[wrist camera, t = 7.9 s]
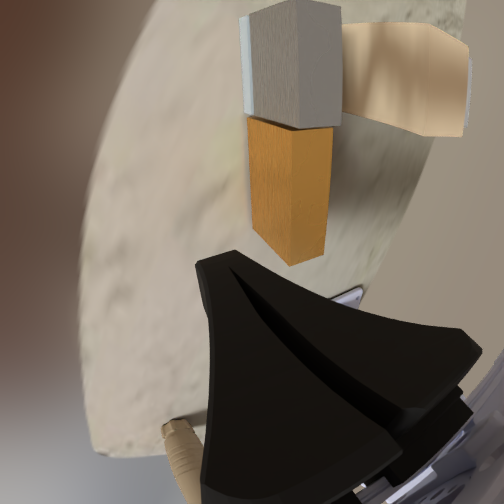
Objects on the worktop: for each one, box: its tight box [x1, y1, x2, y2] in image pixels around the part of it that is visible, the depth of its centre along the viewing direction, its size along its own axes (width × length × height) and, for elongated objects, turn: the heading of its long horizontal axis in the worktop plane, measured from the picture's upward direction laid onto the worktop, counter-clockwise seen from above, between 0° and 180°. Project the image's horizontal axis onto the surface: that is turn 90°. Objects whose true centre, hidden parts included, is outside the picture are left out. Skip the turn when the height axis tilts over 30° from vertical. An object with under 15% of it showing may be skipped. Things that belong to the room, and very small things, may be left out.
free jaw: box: [247, 0, 343, 267], centre depth 12 cm, size 12×2×4 cm, turn 2°
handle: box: [161, 419, 204, 504], centre depth 20 cm, size 5×6×15 cm
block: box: [342, 22, 469, 137], centre depth 11 cm, size 5×4×6 cm
